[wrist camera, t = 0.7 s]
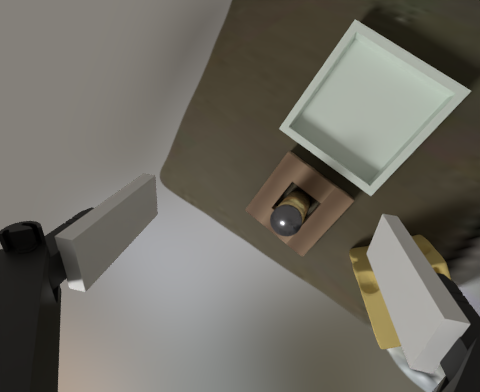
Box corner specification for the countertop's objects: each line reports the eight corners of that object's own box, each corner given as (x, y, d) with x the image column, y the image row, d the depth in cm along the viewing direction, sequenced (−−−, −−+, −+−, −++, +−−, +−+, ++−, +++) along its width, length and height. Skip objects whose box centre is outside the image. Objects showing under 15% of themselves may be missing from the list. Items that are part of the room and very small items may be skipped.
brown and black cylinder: (315, 200, 42) (308, 219, 32) (299, 218, 43) (288, 242, 33) (295, 185, 43) (282, 199, 32) (280, 203, 44) (264, 222, 34)
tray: (458, 95, 33) (471, 90, 30) (368, 191, 39) (370, 196, 36) (353, 30, 36) (355, 19, 32) (283, 129, 41) (278, 128, 38)
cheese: (348, 247, 42) (351, 278, 33) (424, 230, 38) (453, 259, 28) (369, 306, 42) (378, 352, 33) (447, 295, 38) (482, 344, 29)
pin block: (353, 197, 40) (354, 200, 38) (304, 250, 44) (302, 256, 42) (290, 151, 42) (288, 151, 39) (249, 206, 46) (244, 210, 44)
